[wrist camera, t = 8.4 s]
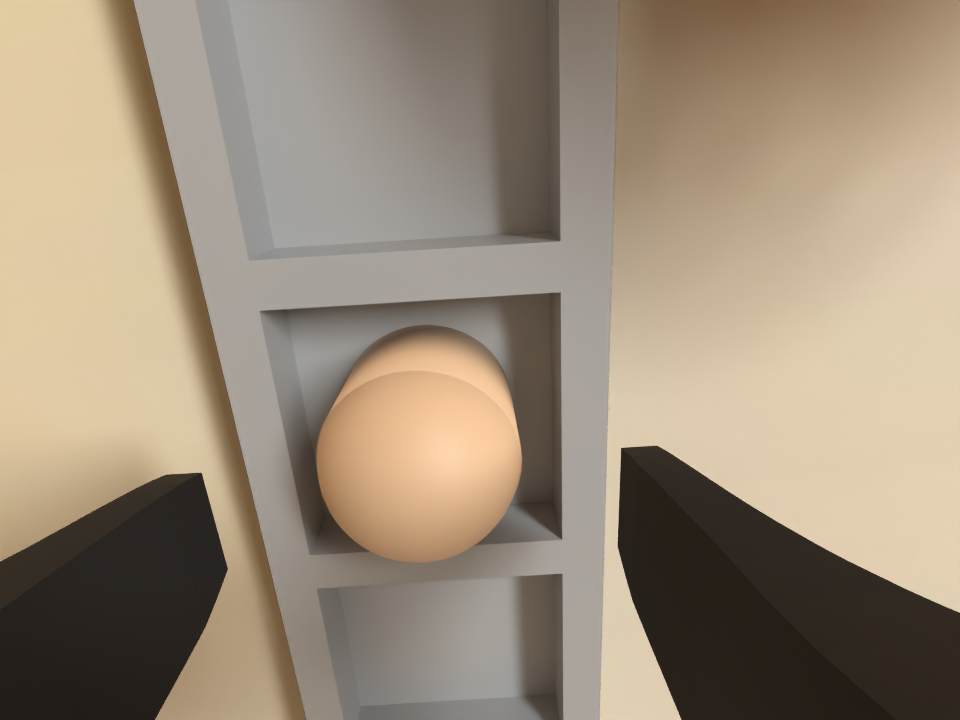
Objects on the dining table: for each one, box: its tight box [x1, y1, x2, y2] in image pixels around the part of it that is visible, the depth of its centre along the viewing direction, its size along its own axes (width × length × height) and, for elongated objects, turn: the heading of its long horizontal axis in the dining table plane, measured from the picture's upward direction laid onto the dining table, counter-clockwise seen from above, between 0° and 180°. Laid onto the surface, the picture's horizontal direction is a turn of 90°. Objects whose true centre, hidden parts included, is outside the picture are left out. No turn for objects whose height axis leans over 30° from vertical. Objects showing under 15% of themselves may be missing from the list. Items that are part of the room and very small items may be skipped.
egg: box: [316, 325, 522, 563], centre depth 11 cm, size 4×4×4 cm
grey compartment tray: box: [134, 0, 619, 720], centre depth 13 cm, size 8×22×2 cm, turn 3°
